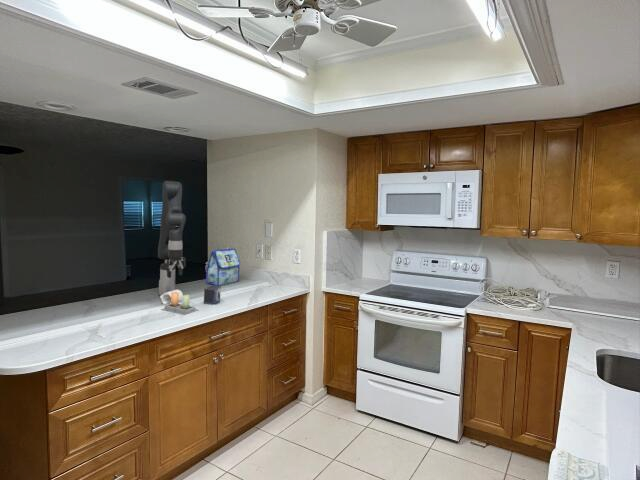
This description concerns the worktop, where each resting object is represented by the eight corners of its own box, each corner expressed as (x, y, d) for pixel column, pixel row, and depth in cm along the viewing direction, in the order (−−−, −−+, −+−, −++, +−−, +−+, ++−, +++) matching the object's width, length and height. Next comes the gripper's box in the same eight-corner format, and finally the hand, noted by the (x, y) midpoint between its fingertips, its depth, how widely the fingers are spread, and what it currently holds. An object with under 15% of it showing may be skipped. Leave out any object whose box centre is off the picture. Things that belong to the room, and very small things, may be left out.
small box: (213, 306, 243) (213, 289, 242) (203, 305, 244) (203, 288, 243) (220, 302, 253) (221, 286, 252) (211, 301, 254) (211, 285, 253)
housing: (160, 311, 228) (160, 306, 227) (175, 306, 239) (175, 301, 238) (184, 316, 220) (184, 311, 220) (199, 311, 231) (199, 306, 231)
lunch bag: (219, 287, 293) (220, 251, 290) (204, 283, 302) (205, 249, 299) (241, 282, 311) (242, 249, 309) (226, 279, 320) (227, 246, 318)
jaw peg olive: (180, 311, 227) (180, 295, 226) (185, 309, 230) (185, 294, 229) (185, 312, 225) (186, 296, 224) (190, 310, 229) (191, 295, 228)
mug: (183, 302, 247) (183, 290, 246) (172, 306, 238) (172, 293, 237) (167, 300, 251) (167, 287, 250) (155, 304, 242) (155, 291, 241)
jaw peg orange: (169, 308, 230) (169, 293, 229) (174, 307, 234) (174, 292, 233) (174, 309, 229) (175, 294, 228) (179, 308, 232) (180, 293, 231)
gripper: (179, 246, 235) (179, 273, 237) (160, 248, 222) (160, 277, 224) (189, 247, 232) (188, 275, 234) (170, 250, 219) (170, 279, 221)
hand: (174, 276), depth 229 cm, fingers open, 8 cm apart
